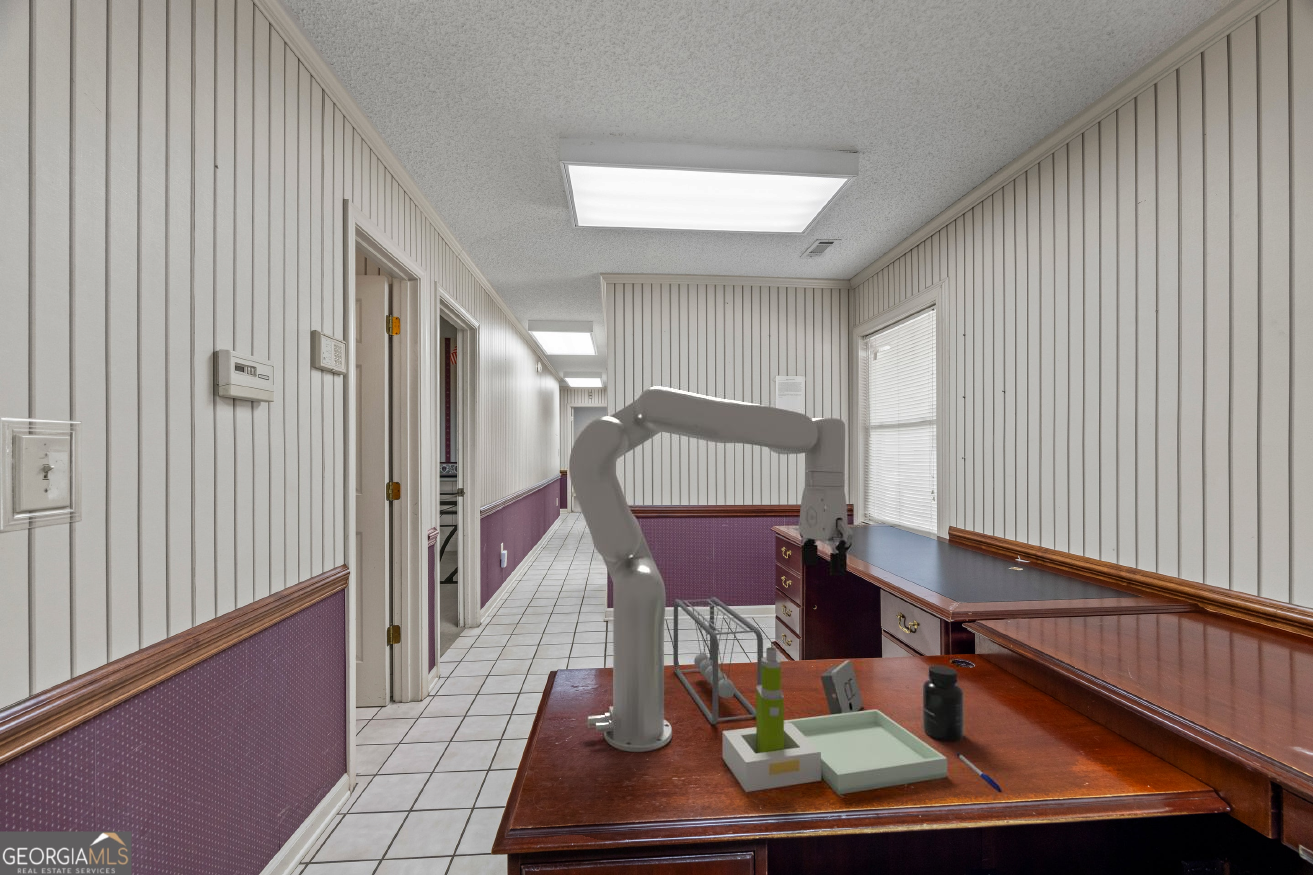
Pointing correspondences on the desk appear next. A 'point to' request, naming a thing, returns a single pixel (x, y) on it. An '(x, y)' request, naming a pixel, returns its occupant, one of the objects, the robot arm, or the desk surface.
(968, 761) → the ballpoint pen
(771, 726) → the vape
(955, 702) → the supplement bottle
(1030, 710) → the desk surface
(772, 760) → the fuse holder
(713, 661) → the newton's cradle
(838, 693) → the electrical switch
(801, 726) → the parts tray
